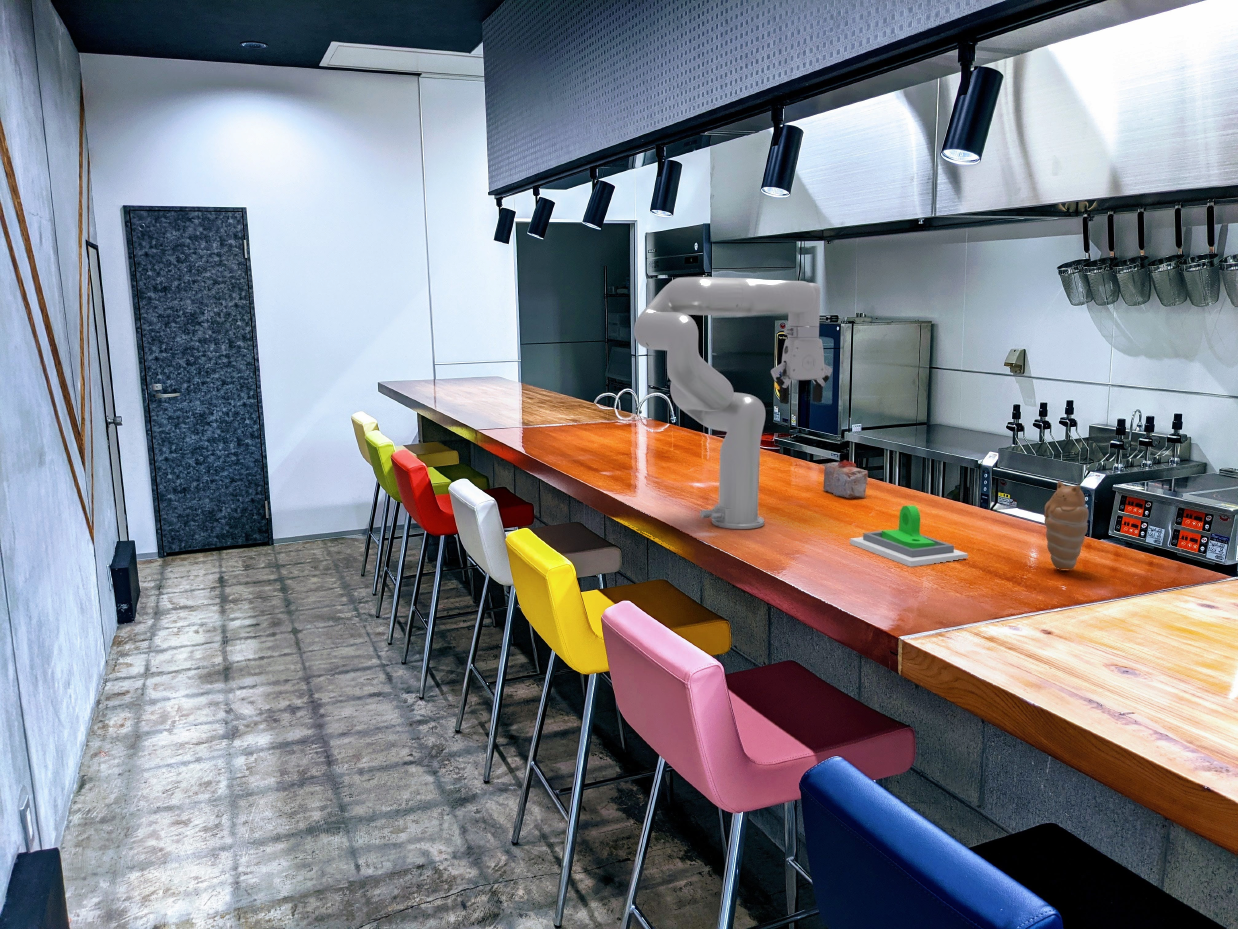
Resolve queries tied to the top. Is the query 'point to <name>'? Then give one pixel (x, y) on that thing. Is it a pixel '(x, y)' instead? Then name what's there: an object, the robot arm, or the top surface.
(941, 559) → the socket board
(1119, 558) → the top surface
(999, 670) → the top surface
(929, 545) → the mechanical part
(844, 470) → the food item
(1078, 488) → the cat ice cream
